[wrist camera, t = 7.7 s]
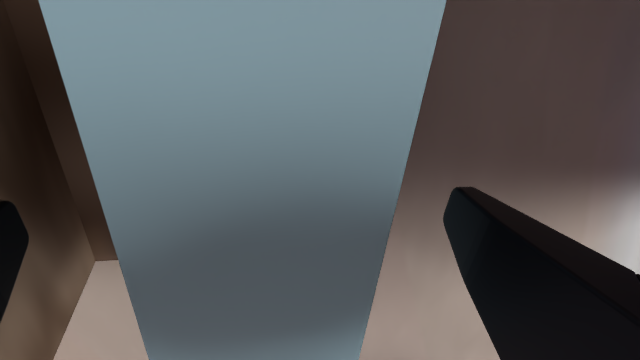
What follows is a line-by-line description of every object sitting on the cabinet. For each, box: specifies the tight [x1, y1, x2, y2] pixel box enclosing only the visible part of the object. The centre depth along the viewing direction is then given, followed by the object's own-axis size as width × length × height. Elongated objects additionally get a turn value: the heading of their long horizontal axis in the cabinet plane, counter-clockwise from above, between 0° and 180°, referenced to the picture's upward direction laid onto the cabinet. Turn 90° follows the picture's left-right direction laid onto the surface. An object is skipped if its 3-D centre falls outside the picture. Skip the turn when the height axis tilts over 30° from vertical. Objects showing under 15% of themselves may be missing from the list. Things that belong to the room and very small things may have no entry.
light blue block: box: [38, 0, 446, 360], centre depth 10 cm, size 10×5×7 cm, turn 176°
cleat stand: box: [0, 0, 118, 360], centre depth 11 cm, size 14×14×7 cm
